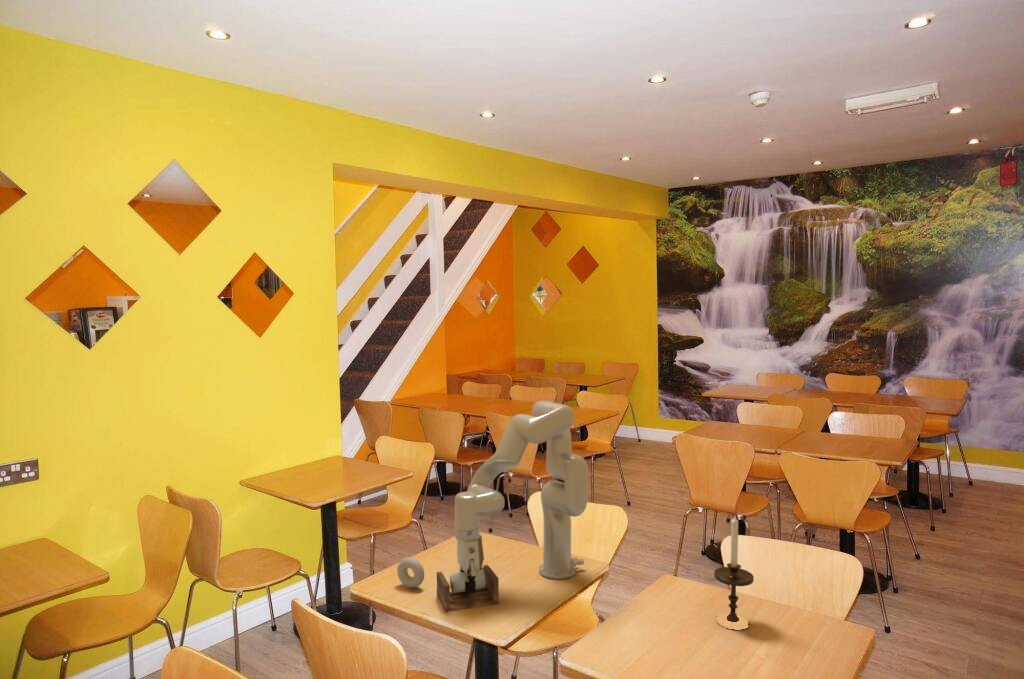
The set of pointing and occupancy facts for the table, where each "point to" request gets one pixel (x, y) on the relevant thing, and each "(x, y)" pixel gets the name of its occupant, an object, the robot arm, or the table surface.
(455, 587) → the roll
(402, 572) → the donut
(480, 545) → the squeeze bottle
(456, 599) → the cradle
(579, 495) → the robot arm
